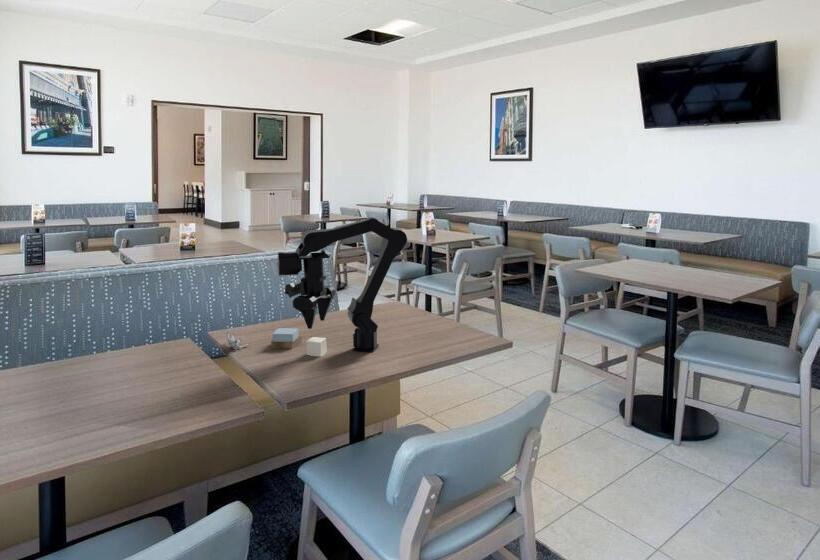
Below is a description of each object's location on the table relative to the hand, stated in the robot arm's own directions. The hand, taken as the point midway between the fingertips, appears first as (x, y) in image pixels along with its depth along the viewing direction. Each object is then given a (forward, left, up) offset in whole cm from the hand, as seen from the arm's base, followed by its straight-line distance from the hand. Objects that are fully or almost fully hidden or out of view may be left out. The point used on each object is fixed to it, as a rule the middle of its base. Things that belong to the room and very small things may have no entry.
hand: (316, 324), depth 175 cm
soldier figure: (+28, 0, -10) cm, 30 cm away
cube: (0, 0, -9) cm, 9 cm away
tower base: (+13, -6, -10) cm, 17 cm away
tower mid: (+13, -6, -7) cm, 16 cm away
